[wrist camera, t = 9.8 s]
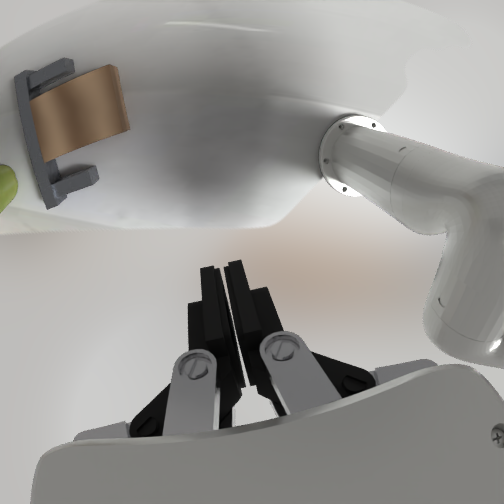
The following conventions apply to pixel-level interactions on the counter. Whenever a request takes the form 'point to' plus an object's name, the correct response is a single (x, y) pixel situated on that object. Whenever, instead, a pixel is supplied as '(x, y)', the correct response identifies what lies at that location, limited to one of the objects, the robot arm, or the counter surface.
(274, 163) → the counter surface
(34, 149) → the stop bracket
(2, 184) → the plant pot
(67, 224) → the counter surface
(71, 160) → the counter surface
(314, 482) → the robot arm
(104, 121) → the walnut slab
